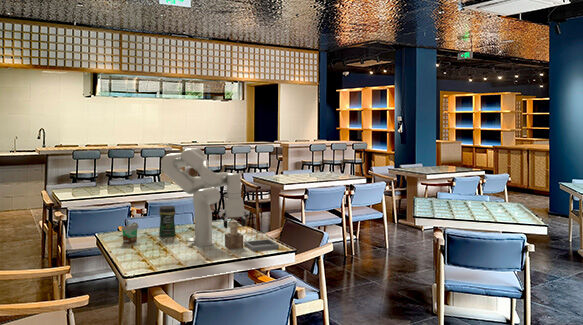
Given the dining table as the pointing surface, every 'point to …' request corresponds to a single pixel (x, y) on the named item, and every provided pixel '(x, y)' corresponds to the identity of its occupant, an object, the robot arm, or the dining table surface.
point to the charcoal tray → (261, 245)
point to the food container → (130, 233)
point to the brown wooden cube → (233, 241)
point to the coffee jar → (167, 221)
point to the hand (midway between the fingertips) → (234, 227)
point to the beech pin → (233, 228)
